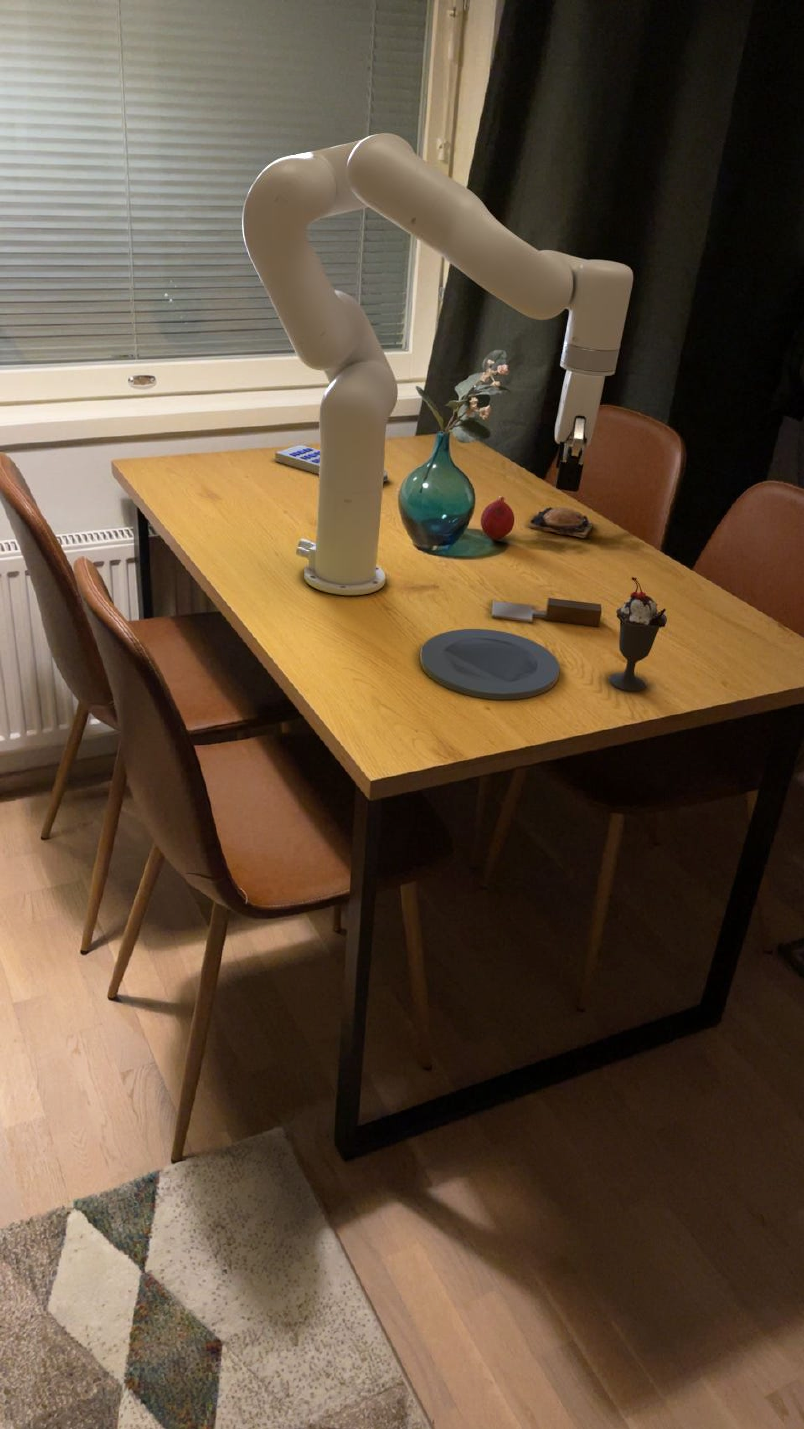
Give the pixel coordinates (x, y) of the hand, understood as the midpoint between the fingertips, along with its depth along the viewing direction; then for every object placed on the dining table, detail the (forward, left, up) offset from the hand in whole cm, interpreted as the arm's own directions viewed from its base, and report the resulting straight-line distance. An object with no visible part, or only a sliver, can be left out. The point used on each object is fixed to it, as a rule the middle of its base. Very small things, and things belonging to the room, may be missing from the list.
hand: (566, 479), depth 162 cm
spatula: (+1, -3, -20) cm, 21 cm away
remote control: (-61, +31, -21) cm, 71 cm away
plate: (+2, -23, -20) cm, 31 cm away
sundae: (+19, -15, -21) cm, 32 cm away
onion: (-19, +20, -21) cm, 34 cm away
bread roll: (-13, +35, -21) cm, 43 cm away
